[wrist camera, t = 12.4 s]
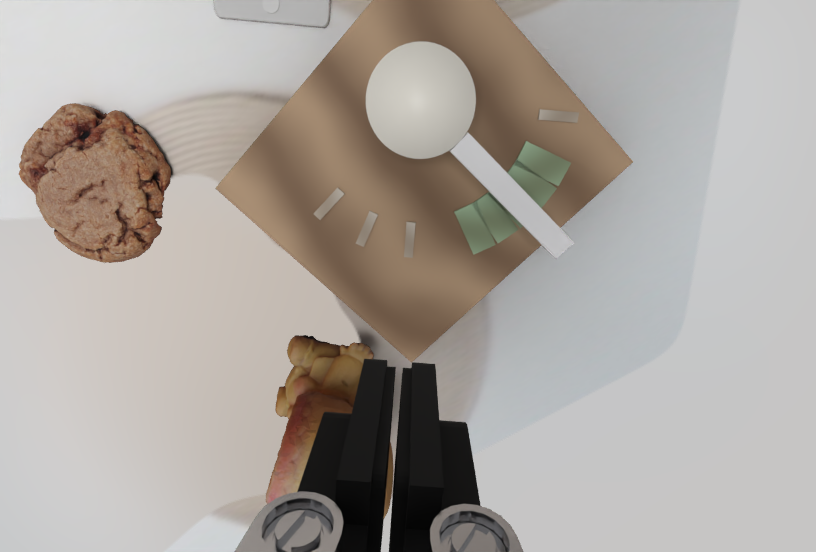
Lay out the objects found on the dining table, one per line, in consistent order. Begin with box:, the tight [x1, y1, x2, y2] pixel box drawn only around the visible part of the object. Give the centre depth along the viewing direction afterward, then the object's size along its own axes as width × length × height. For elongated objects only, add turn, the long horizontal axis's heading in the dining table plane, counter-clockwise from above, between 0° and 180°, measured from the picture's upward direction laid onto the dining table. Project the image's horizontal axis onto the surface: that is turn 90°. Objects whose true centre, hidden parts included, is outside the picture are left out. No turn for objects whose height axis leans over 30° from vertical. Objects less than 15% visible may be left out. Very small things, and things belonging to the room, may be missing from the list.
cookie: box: [19, 103, 171, 263], centre depth 32 cm, size 10×11×3 cm
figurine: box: [266, 335, 393, 518], centre depth 31 cm, size 10×8×15 cm
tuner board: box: [216, 0, 633, 362], centre depth 31 cm, size 20×18×2 cm
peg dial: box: [366, 41, 574, 259], centre depth 28 cm, size 15×6×3 cm, turn 46°
